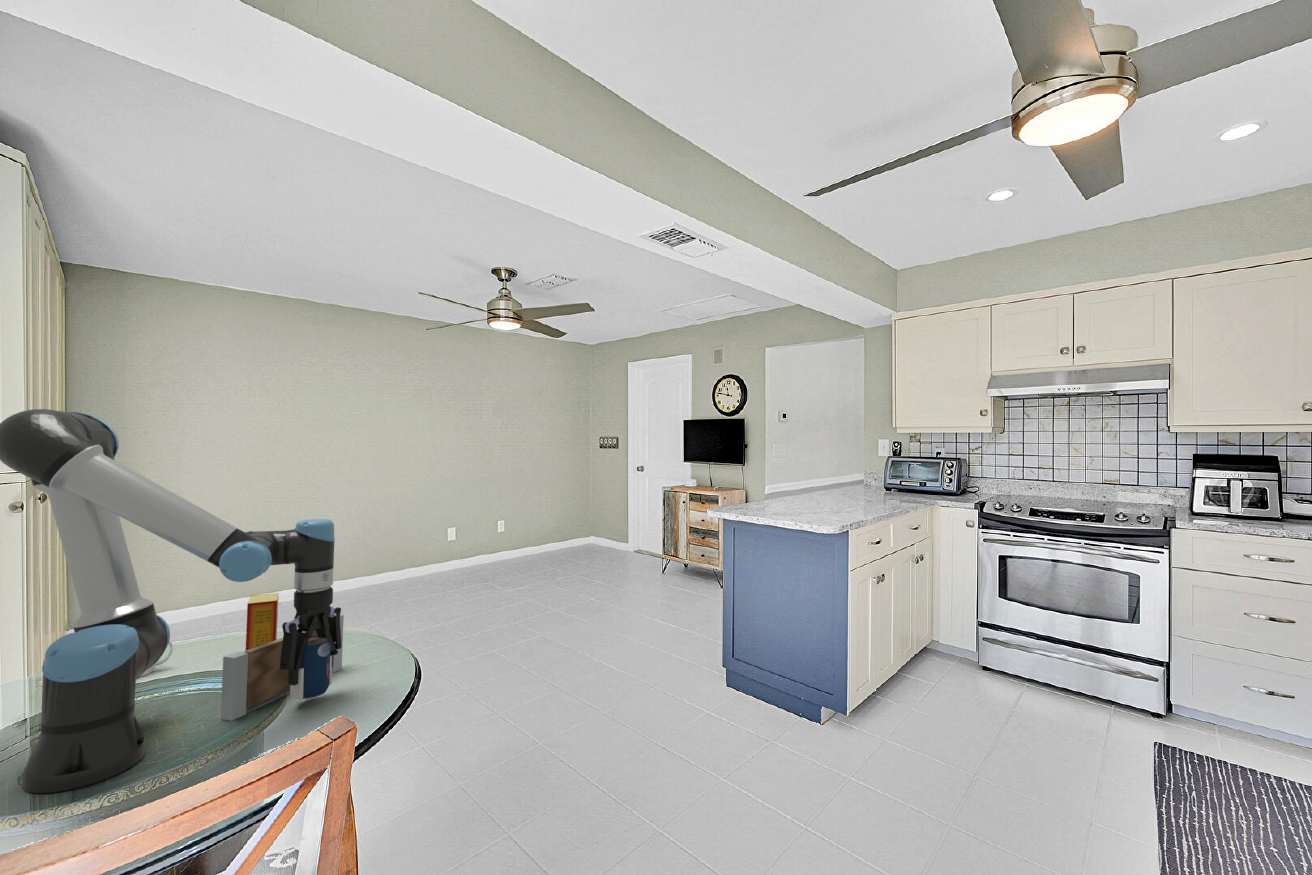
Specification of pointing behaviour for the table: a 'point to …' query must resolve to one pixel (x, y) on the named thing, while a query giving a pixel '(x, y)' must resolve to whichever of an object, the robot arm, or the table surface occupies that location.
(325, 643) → the soda can
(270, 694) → the door
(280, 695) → the gray u-shaped frame
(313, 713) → the table surface
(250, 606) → the baking soda box
